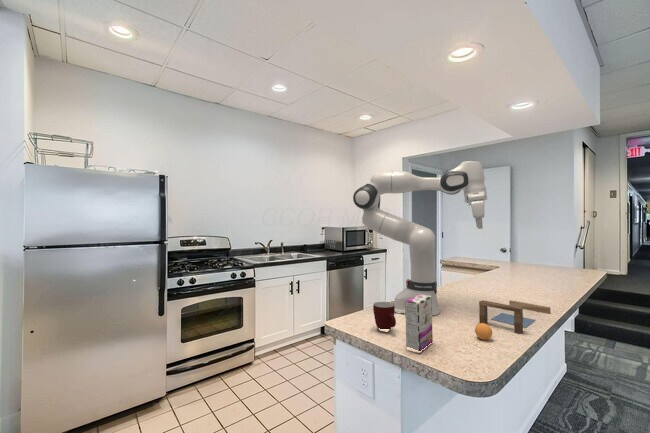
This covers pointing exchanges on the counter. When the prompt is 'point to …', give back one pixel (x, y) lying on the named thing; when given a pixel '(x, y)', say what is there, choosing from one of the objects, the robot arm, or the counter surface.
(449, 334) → the counter surface
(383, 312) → the mug
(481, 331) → the ball
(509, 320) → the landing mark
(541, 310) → the wall
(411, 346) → the candy bar box
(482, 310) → the bridge
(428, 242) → the robot arm
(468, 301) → the counter surface
